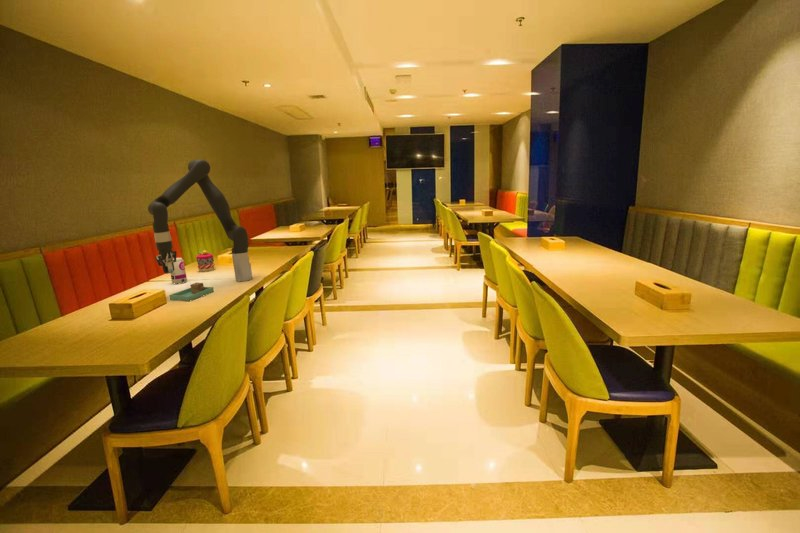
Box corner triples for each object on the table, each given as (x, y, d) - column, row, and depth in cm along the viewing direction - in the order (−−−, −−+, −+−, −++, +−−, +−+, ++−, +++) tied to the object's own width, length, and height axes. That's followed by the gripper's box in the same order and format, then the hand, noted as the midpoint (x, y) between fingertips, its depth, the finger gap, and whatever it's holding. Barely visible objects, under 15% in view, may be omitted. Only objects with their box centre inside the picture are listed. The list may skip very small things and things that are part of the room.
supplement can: (189, 280, 255) (185, 257, 251) (181, 284, 247) (177, 260, 243) (177, 280, 255) (173, 257, 252) (169, 284, 247) (164, 260, 244)
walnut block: (197, 291, 227) (196, 282, 226) (204, 291, 226) (203, 282, 225) (191, 293, 223) (190, 284, 222) (198, 293, 222) (196, 285, 221)
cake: (218, 269, 282) (215, 248, 279) (204, 272, 274) (200, 251, 270) (209, 268, 288) (205, 247, 284) (195, 271, 279) (191, 250, 276)
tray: (195, 290, 231) (194, 286, 230) (213, 291, 227) (213, 287, 226) (170, 300, 215) (169, 295, 214) (189, 301, 211) (188, 296, 210)
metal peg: (168, 271, 220) (166, 261, 219) (175, 271, 220) (173, 260, 218) (163, 273, 217) (161, 262, 215) (170, 273, 216) (168, 262, 214)
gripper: (160, 242, 207) (166, 275, 211) (178, 237, 220) (184, 268, 224) (147, 243, 208) (153, 275, 212) (166, 238, 221) (172, 268, 225)
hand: (169, 271), depth 218 cm, fingers closed on metal peg, 4 cm apart
